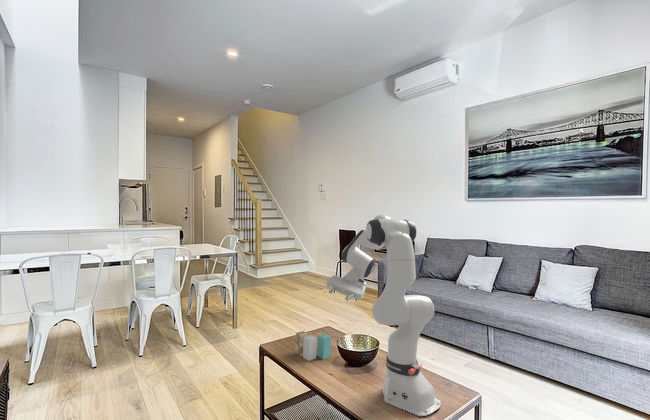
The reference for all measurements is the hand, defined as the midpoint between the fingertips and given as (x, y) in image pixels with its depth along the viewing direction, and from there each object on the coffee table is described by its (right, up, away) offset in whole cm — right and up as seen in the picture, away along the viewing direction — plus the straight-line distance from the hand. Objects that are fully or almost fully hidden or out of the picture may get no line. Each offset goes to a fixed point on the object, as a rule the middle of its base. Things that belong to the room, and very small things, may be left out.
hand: (338, 295), depth 166 cm
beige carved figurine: (-18, -29, 0) cm, 34 cm away
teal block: (-7, -29, -3) cm, 30 cm away
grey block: (-14, -29, -5) cm, 32 cm away
